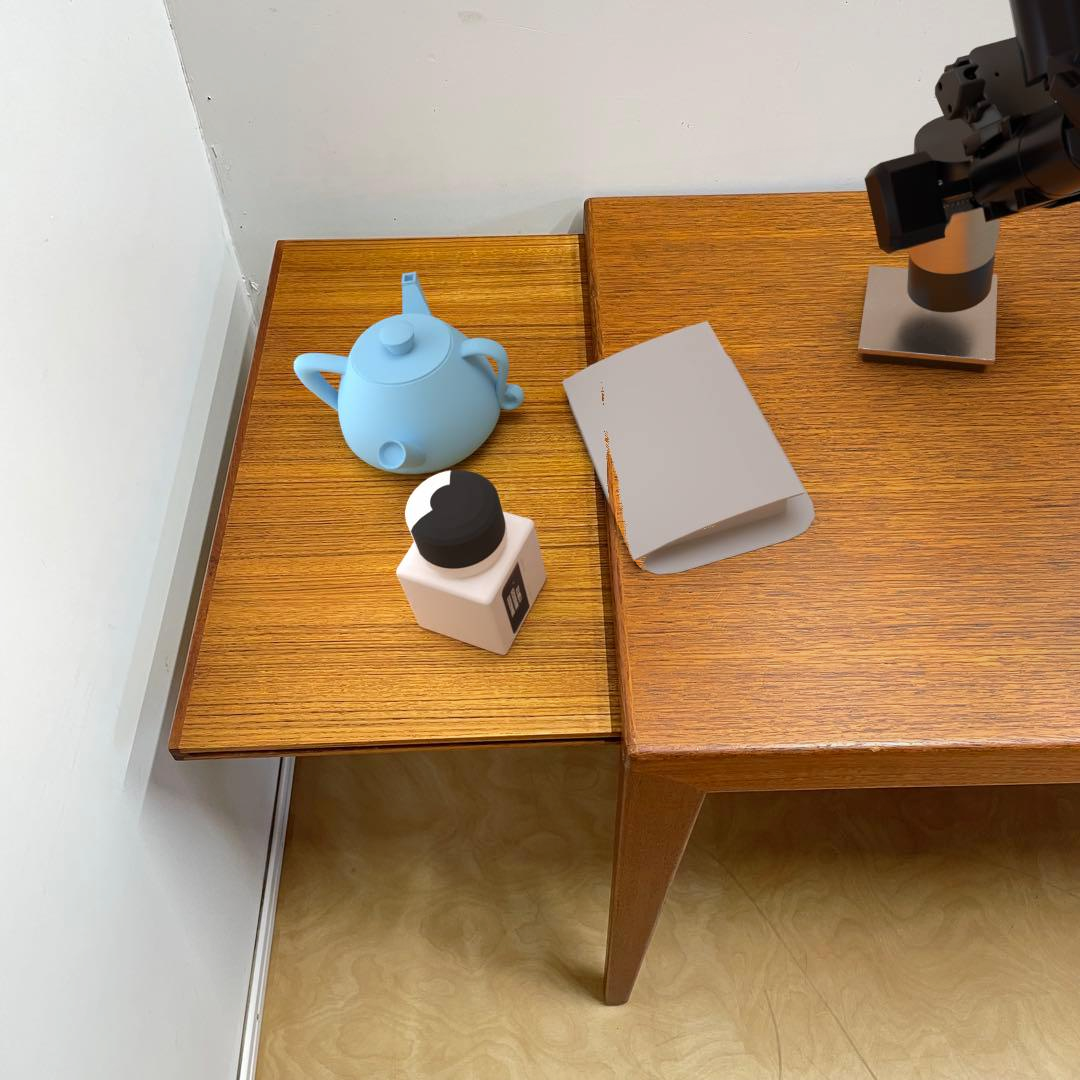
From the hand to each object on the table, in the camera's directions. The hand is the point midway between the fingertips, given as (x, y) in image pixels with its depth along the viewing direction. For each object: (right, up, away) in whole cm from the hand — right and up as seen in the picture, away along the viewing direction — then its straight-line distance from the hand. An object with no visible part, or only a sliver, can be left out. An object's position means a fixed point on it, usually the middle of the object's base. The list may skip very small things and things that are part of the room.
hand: (944, 203), depth 79 cm
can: (+2, -6, +5) cm, 8 cm away
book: (-20, -20, +4) cm, 29 cm away
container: (-37, -32, -2) cm, 49 cm away
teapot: (-43, -17, +10) cm, 47 cm away
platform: (+2, -8, +9) cm, 12 cm away
